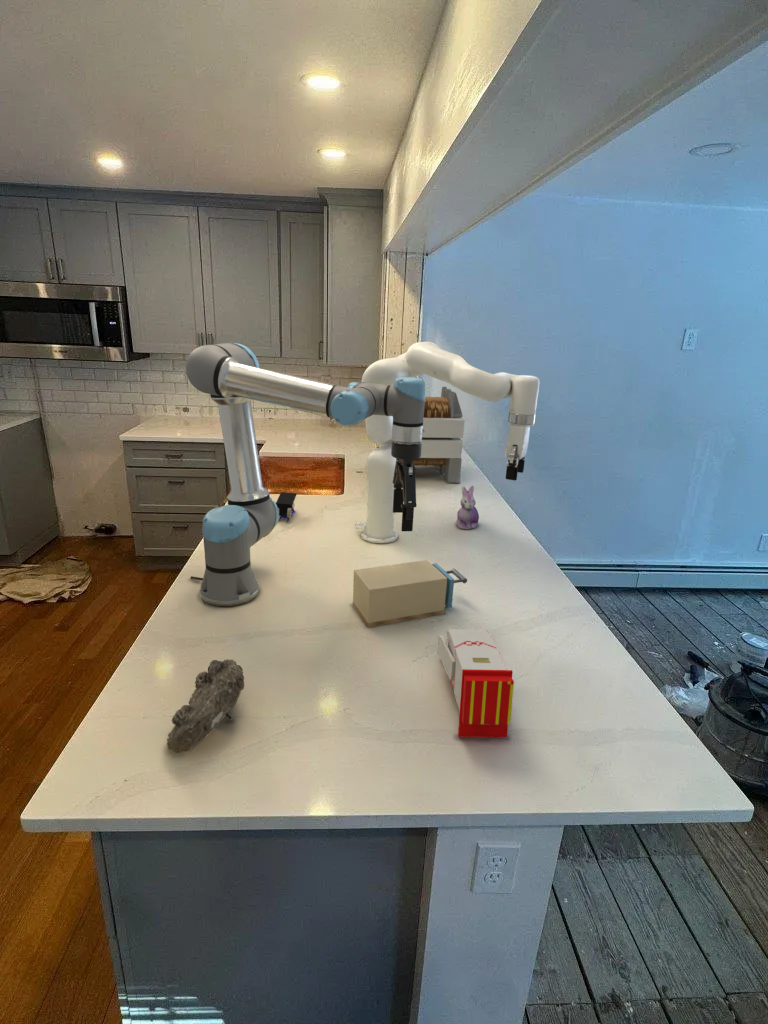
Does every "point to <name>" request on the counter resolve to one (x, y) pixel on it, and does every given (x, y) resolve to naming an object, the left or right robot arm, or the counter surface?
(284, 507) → the figurine character
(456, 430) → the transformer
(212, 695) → the fossil
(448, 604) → the drawer
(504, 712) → the toy
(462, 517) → the figurine
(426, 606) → the tan storage bin
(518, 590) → the counter surface
